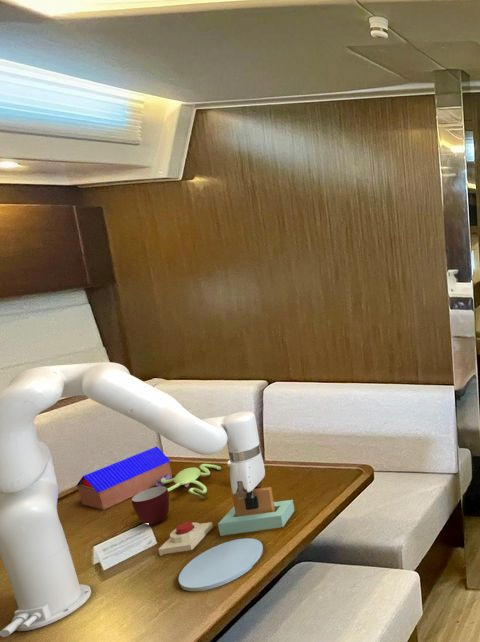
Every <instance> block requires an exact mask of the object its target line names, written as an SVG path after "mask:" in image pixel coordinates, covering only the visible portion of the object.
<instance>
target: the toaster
mask: <svg viewBox="0 0 480 642" xmlns="http://www.w3.org/2000/svg"><path fill="white" fill-rule="evenodd" d="M274 507H275V512H269V513H262V514H254V515H247V516H239V517H236V513H235V508H234V506H233V507H231V508H230V510H229V511H228V512H227V513H226V514H225V515H224V516H223V517H222V519H220V521H219V522H218V523H217V528H218V533H219V536H220V537H221V536H229V535H235V534H242V533H250V532H251V533H252V532H256V531H265V530H271V529H279V528H284V527H285V525H286V524H287V522H288V521H289V519H290V518H291V516H292V515H293V514H294V512H295V506H294V500H293V499H288V500H287V499H286V500H280V501H274Z"/></svg>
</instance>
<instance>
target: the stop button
mask: <svg viewBox="0 0 480 642" xmlns="http://www.w3.org/2000/svg"><path fill="white" fill-rule="evenodd" d="M192 523H193V522H192V521H186V522H183V523H180V524H179V525H177V526H176V527H175V529H176V532H177V535H181V534H185V533H188V532H189V531H191V530H192V529H193V524H192Z"/></svg>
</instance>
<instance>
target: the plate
mask: <svg viewBox="0 0 480 642" xmlns="http://www.w3.org/2000/svg"><path fill="white" fill-rule="evenodd" d="M263 553H264V546H263V543H262V542H261V541H260V540H259V539H256V538H249V537H247V538H246V537H245V538H244V537H243V538H236V539H232V540H230V541H229V540H228V541H225V542H223V543H221V544H217V545H215V546H213V547H211V548H208V549H207V550H205V551H203V552H201V553H199V554H198V555H197V556H195V557H194V558H193V559H192V560H190V561H188V563H187V564H186V565H185V566H184V567H183V568H182V569H181V571H180V572H179V575H178V585H179V587H180V588H181V589H182V590H184V591H187V592H203V591H208V590H212V589H216V588H218V587H221V586H224V585H227V584H228V583H230V582H232V581H233V582H234V581H235V580H237V579H238V578H240V577H242V576H243V575H244V574H246V573H248V572H249V571H250V570H252V569H253V568H254V565H255V564H256V563H257V562H258V561H259V559H261V556H262V555H263Z"/></svg>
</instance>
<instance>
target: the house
mask: <svg viewBox="0 0 480 642" xmlns="http://www.w3.org/2000/svg"><path fill="white" fill-rule="evenodd" d="M170 462H171V460H170V459H169V457H168V456H167V455H166V454H165V453H164V452H163V451H162V450H161V449H160V448H159V447H158V446H154V447H152V448H149V449H147V450H144V451H141V452H139V453H137V454H134V455H131V456H129V457H127V458H124V459H122V460H119V461H117V462H114V463H112V464H109V465H107V466H104V467H102V468H99V469H96V470H95V471H92V472H89V473H86V474H84V475H82V477H81V478H80V479H79V481H78V483H76V485H75V487H77V490H78V493H79V497H80V501H81V505H85V506H88V507H92V508H96V509H98V510H99V509H100V510H106V509H109V508H110V507H113V506H115V505H117V504H120V503H121V502H123V501H126V500H128V499H129V498H133V497H134V496H135V495H136V494H138V493H140V492H142V491H144V490H147V489H150V488H154V487H156V485H155V483H156V482H157V481H158V480H159V479H161V478H162V477H163V476H164V475H166V474H168V475H169V476H170V477H172V478H173V473H172V469H171V465H170Z"/></svg>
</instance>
